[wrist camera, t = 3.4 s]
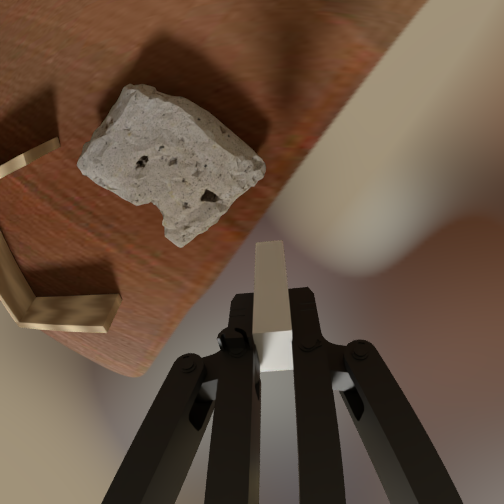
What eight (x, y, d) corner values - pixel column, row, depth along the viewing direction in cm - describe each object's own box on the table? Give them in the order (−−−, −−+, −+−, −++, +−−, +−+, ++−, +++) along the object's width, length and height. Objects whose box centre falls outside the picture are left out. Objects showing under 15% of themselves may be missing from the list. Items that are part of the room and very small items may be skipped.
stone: (219, 243, 25) (281, 143, 21) (204, 280, 20) (282, 155, 16) (96, 174, 23) (138, 71, 18) (57, 194, 18) (99, 65, 13)
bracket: (35, 302, 31) (19, 327, 27) (-24, 180, 21) (-50, 199, 17) (122, 300, 30) (107, 332, 26) (57, 136, 20) (23, 153, 15)
